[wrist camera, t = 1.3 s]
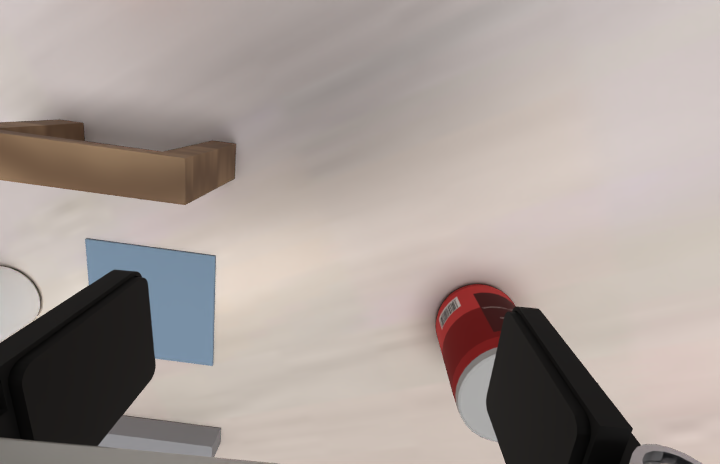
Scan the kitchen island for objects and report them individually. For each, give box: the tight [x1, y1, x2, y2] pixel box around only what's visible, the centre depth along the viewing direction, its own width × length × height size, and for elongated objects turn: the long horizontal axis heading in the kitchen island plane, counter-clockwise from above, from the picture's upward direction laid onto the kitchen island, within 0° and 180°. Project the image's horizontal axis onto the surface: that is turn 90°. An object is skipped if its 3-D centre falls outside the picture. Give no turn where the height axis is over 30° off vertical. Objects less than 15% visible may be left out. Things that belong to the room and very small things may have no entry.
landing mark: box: [85, 239, 216, 366], centre depth 39 cm, size 12×12×1 cm
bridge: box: [0, 120, 236, 205], centre depth 30 cm, size 3×15×10 cm, turn 83°
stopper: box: [98, 416, 221, 457], centre depth 42 cm, size 2×14×2 cm, turn 82°
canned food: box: [436, 284, 516, 442], centre depth 33 cm, size 8×8×11 cm
